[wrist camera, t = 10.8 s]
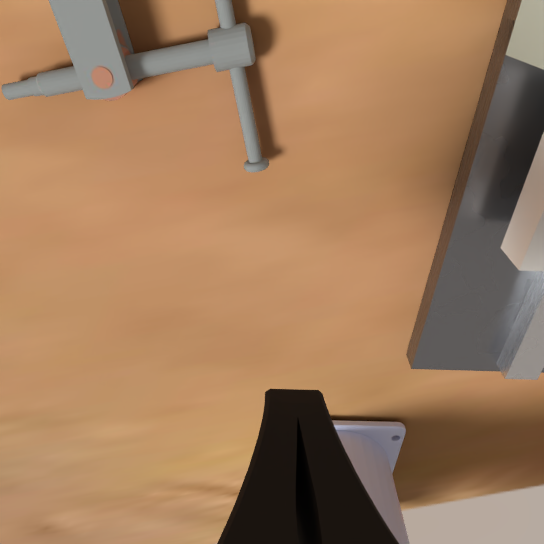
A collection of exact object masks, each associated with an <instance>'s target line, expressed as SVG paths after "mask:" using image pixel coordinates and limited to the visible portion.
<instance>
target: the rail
mask: <svg viewBox="0 0 544 544" xmlns="http://www.w3.org/2000/svg"><path fill="white" fill-rule="evenodd" d="M521 1H522V0H507V3H506V7H505V10H504V14H503V17H502V21H501V24H500V28H499V31H498V35H497V38H496V42H495V46H494V49H493V53H492V56H491V60H490V63H489V67H488V70H487V74H486V77H485V81H484V84H483V88H482V91H481V95H480V98H479V102H478V105H477V109H476V112H475V116H474V119H473V123H472V126H471V130H470V133H469V137H468V140H467V144H466V147H465V151H464V154H463V158H462V161H461V165H460V168H459V172H458V175H457V179H456V182H455V186H454V189H453V193H452V196H451V200H450V203H449V207H448V210H447V214H446V217H445V221H444V225H443V228H442V232H441V235H440V239H439V242H438V246H437V249H436V253H435V256H434V260H433V263H432V267H431V270H430V274H429V277H428V281H427V284H426V288H425V291H424V295H423V298H422V302H421V305H420V309H419V312H418V316H417V319H416V323H415V326H414V330H413V333H412V337H411V340H410V344H409V347H408V351H407V354H406V355H407V358H408V361H409V364H410V366H411V369H438V370H473V371H501V373H502V375H503V376H504V378H505V379H532V380H537V379H538V377H539V375H540V373H541V372H543V373H544V271H520V270H518V269H517V267H516V266H515V265H514V264H513V263H512V261H511V260H510V259H509V258H508V257H507V255H506V254H505V253H504V252H503V250H502V249H501V245H502V242H503V240H504V237H505V234H506V232H507V229H508V226H509V224H510V221H511V218H512V216H513V213H514V210H515V208H516V205H517V202H518V199H519V197H520V194H521V191H522V189H523V186H524V183H525V181H526V178H527V175H528V173H529V170H530V167H531V164H532V162H533V159H534V156H535V154H536V151H537V148H538V146H539V143H540V140H541V138H542V135H543V132H544V70H543V69H541V68H538V67H536V66H533V65H530V64H528V63H525V62H523V61H520V60H517V59H515V58H512V57H510V56H507V55H506V51H507V48H508V45H509V41H510V38H511V34H512V31H513V27H514V25H515V21H516V18H517V14H518V11H519V8H520V4H521Z"/></svg>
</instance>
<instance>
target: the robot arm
mask: <svg viewBox="0 0 544 544" xmlns="http://www.w3.org/2000/svg"><path fill="white" fill-rule="evenodd" d="M405 433H406V429H405V426H404V424H403V423H401V422H380V421H339V420H331V417H330V415H329V412H328V409H327V407H326V404H325V401H324V398H323V394H322V393H321V392H320V391H319V390H292V389H269V390H268V391H266V392H265V406H264V413H263V419H262V423H261V427H260V431H259V436H258V439H257V443H256V446H255V449H254V452H253V456H252V459H251V462H250V465H249V468H248V471H247V474H246V476H245V479H244V482H243V484H242V487H241V490H240V492H239V495H238V497H237V500H236V503H235V505H234V507H233V510H232V512H231V514H230V517H229V519H228V521H227V524H226V526H225V528H224V530H223V532H222V535H221V537H220V539H219V541H218V543H217V544H409V540H408V536H407V532H406V528H405V524H404V520H403V516H402V512H401V508H400V504H399V500H398V496H397V492H396V488H395V484H394V479H393V475H392V474H393V470H394V467H395V464H396V461H397V458H398V455H399V452H400V449H401V446H402V443H403V440H404V437H405Z"/></svg>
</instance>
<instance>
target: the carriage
mask: <svg viewBox="0 0 544 544" xmlns="http://www.w3.org/2000/svg"><path fill="white" fill-rule="evenodd" d="M501 249H502V250H503V252H504V253H505V254H506V255H507V257H508V258H509V259H510V260H511V261H512V263H513V264H514V265H515V266H516V267H517V269H518V270H520V271H544V132H543V135H542V138H541V140H540V143H539V146H538V148H537V151H536V154H535V156H534V159H533V162H532V164H531V167H530V170H529V173H528V175H527V178H526V181H525V183H524V186H523V189H522V191H521V194H520V197H519V199H518V202H517V205H516V208H515V210H514V213H513V216H512V218H511V221H510V224H509V226H508V229H507V232H506V234H505V237H504V240H503V242H502V245H501Z"/></svg>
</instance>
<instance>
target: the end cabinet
mask: <svg viewBox="0 0 544 544" xmlns="http://www.w3.org/2000/svg"><path fill="white" fill-rule="evenodd" d="M506 55H507V56H510V57H512V58H515V59H517V60H520V61H523V62H525V63H528V64H530V65H533V66H536V67H538V68H541V69H543V70H544V0H522V1H521V4H520V8H519V11H518V14H517V18H516V21H515V25H514V27H513V31H512V34H511V38H510V41H509V45H508V48H507V51H506Z"/></svg>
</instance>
